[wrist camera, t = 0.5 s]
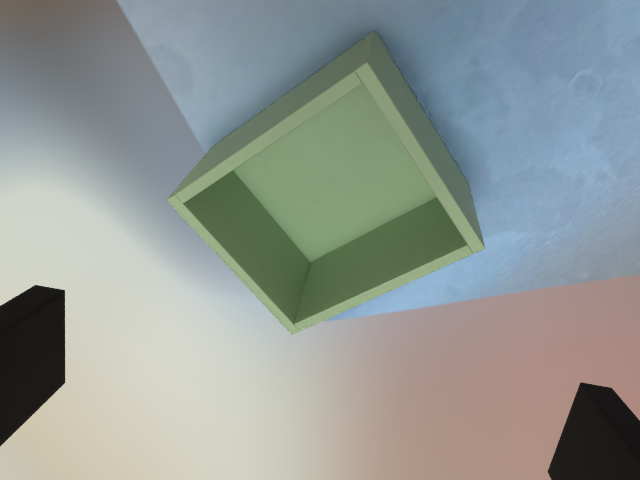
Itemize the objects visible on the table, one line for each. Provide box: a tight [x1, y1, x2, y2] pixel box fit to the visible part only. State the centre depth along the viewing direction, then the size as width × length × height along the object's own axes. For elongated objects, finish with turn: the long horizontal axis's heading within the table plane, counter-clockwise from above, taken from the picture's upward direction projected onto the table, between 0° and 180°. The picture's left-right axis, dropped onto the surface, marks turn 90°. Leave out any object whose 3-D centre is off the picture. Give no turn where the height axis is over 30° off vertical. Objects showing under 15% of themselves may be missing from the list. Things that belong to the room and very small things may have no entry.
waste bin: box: [167, 31, 485, 334], centre depth 35 cm, size 16×14×9 cm
